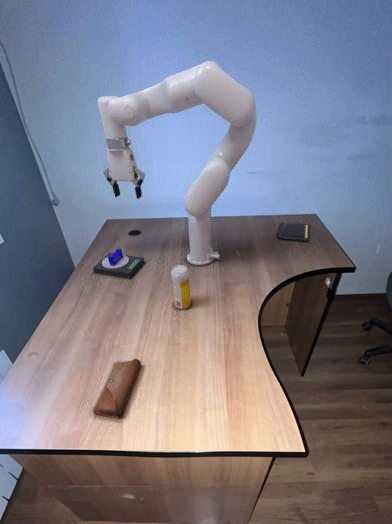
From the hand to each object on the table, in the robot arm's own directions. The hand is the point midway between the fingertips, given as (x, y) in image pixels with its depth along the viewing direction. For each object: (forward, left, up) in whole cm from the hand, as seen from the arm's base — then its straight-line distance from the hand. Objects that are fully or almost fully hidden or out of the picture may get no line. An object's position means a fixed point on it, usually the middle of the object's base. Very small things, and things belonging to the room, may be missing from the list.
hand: (128, 196), depth 107 cm
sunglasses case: (-28, +70, -26) cm, 80 cm away
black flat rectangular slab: (-67, -45, -26) cm, 85 cm away
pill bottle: (-32, +29, -26) cm, 51 cm away
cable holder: (+7, +11, -23) cm, 27 cm away
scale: (+5, +11, -26) cm, 29 cm away
